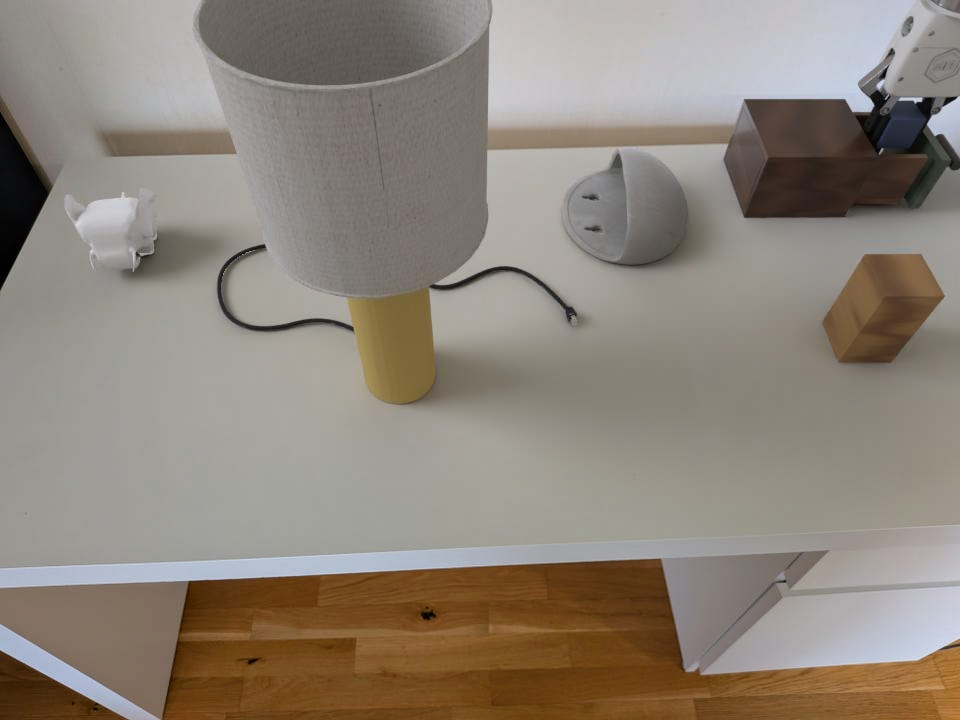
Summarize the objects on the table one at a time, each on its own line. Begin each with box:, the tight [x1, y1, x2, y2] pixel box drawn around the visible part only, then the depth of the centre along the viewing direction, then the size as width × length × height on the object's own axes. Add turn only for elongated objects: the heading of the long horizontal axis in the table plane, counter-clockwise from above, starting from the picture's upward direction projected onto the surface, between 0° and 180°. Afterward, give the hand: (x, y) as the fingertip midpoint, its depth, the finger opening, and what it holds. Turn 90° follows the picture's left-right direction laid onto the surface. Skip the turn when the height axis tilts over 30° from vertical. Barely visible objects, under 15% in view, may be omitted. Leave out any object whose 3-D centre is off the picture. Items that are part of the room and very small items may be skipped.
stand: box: [821, 253, 946, 363], centre depth 74 cm, size 6×6×11 cm
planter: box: [561, 146, 689, 266], centre depth 88 cm, size 19×7×16 cm
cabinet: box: [723, 98, 879, 218], centre depth 91 cm, size 14×13×10 cm
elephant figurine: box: [63, 187, 158, 276], centre depth 82 cm, size 10×12×9 cm
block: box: [874, 99, 926, 149], centre depth 87 cm, size 4×4×4 cm
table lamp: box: [192, 0, 578, 405], centre depth 63 cm, size 40×34×40 cm
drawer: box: [852, 111, 960, 210], centre depth 91 cm, size 17×11×8 cm
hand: (889, 135), depth 88 cm, fingers closed on block, 4 cm apart
